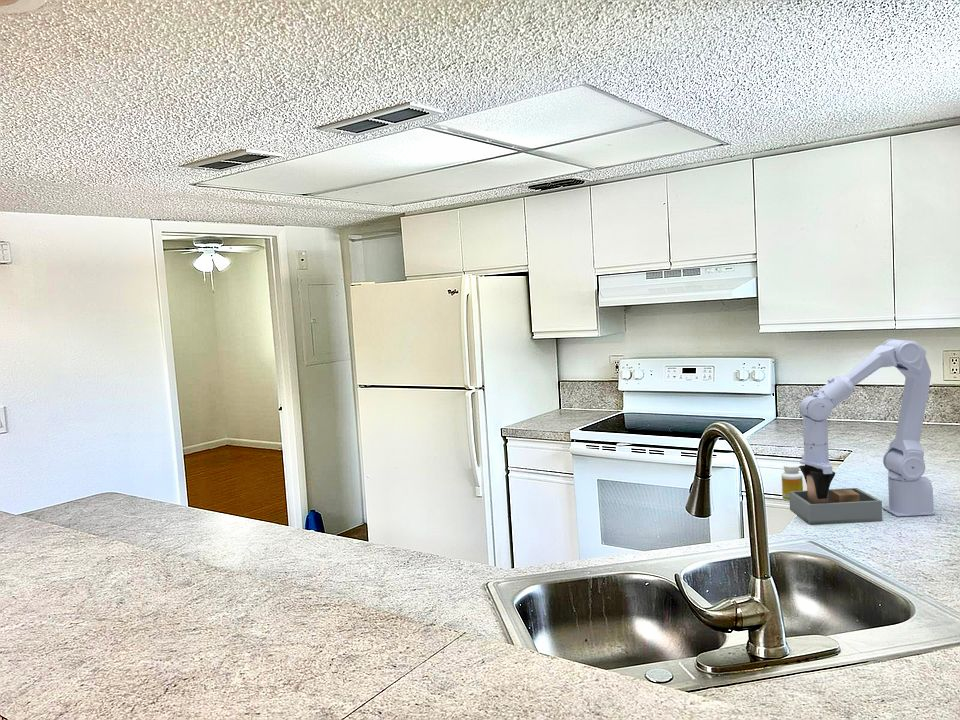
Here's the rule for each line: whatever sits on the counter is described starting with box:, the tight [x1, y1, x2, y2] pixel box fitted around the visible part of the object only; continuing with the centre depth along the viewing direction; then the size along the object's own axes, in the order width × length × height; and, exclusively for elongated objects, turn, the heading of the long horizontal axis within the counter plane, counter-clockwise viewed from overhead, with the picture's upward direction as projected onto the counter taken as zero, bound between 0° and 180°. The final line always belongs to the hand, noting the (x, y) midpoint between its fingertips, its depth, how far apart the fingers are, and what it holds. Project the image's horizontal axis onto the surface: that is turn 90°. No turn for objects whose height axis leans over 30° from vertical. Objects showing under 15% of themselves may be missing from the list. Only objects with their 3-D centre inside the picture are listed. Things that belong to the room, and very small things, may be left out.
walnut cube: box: [831, 490, 860, 503], centre depth 193 cm, size 5×5×5 cm
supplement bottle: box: [781, 463, 804, 503], centre depth 210 cm, size 5×5×10 cm
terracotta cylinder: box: [806, 474, 829, 504], centre depth 193 cm, size 5×5×7 cm
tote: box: [789, 487, 883, 526], centre depth 193 cm, size 18×14×5 cm
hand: (817, 495), depth 193 cm, fingers closed on terracotta cylinder, 5 cm apart
